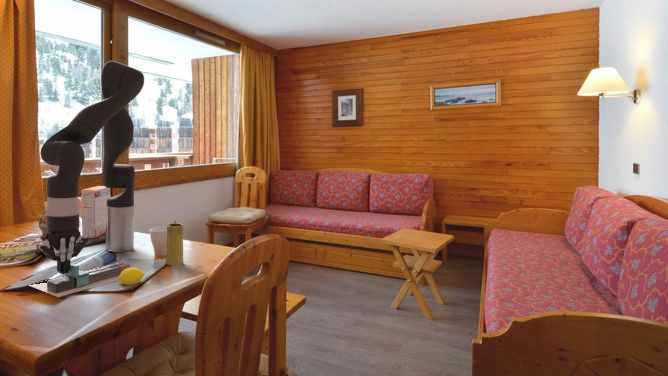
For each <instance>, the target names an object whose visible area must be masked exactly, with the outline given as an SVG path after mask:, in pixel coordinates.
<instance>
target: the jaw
mask: <svg viewBox="0 0 668 376" xmlns="http://www.w3.org/2000/svg"><path fill="white" fill-rule="evenodd" d="M122 264H126V263H125V262H123V261H120V262H115V263H113V265H111V264H108V265H109V266H107V265H104V266H105V267H103V266H100V267H101V268H99V267H96V268H97V269H95V268H92V269H93V270H91V269H89V271H87V270H84V271H85V272H87V273H92V272H96V271H100V270H104V269H108V268H112V267H116V266H118V265H122ZM71 278H73V279H75V278H74V277H71Z"/></svg>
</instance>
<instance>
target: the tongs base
mask: <svg viewBox="0 0 668 376" xmlns="http://www.w3.org/2000/svg"><path fill="white" fill-rule="evenodd" d="M130 265H131V264H130V263H125V264H122V265H118V266H116V267H112V268H108V269H104V270H100V271H96V272H92V273H89V283H92V282H95V281H99V280H102V279H106V278H110V277H113V276H117V275H120V274H121V273H122V271H124V270H125V269H127V268H131V266H130ZM63 276H64V277H63ZM63 276H59V277H60V278H59V277H55V278H56V279H55V278H52V280H51V279H47V280H48V281H47V280H46V281H47V290H48V291H51V292H53V293H56V294H57V293H60V292H64V291H67V290H71V289H75V285H77V278H75V279H73V278H71V276H66V275H63Z"/></svg>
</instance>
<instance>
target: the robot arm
mask: <svg viewBox="0 0 668 376" xmlns="http://www.w3.org/2000/svg"><path fill="white" fill-rule="evenodd" d="M100 78H101V79H100V80H101V83H100V84H101V89H102V90H101V93H102V99H103V100H100V101H97V102H94V103H91V104H89V105H88V106H87V105H86V106H85V107H84V108H82V109H81V110H80V111H79V112H78V113H77V114H76V115H75V116H74V117H73V119H72V120H70V122H69V123H68V125H66V126H65V127H63V128H62V129H60V130H59V131H57V132H56V133H54V134H53V135H51V136H50V137H49V138H48V139H47V140H45V142H44V143H43V144H42V146H41V148H40V158H41V160H42V161H43V162H44V163H46V164H47V165H51V166H55V167H58V170H57V172H56V174H55V175H51V176H49V177H48V179H47V185H46V187H47V201H46V207H47V210H46V213H47V232H48V233H47V236H46V240H45V241H42V243H38V244H36V249H37V248H38V249H39V250H40V251H41V252H42V253H44V254H43V255H45V256H46V257H47V258H48V259H49V260H52V261H55V262H56V271H57V272H58V273H59V274H61V275H66V273H69V271H70V269H71V267H70V263H71V261H72V259H73V258H76V257H78V256H79V254H80V253H81V252H82V250H83V249H84V248H85V246H86V244H87V243H88V241H89V238H86V237H83V236H82V235H81V233H82V232H80V200H79V180H80V177H81V175H82V171H83V168H84V163H85V151H84V148H83V147H82V145H86V144H89V143H91V142H92V141H93V140H94V139H95V137H96V136H97V135H98V134H99V132H100V131H101V130H102V129H103V162H102V171H101V172H102V175H101V176H102V177H101V179H102V184H103V186H105V187H107V188H110V189H124V191H123V192H120V193H119V194H117V195H114V196H110V198H108V199H107V225H106V234H105V249H106V250H107V249H108V250H112V251H114V252H113V253H125V252H129V251H132V250H134V245H135V244H134V243H135V242H134V241H135V239H134V238H135V236H134V235H135V181H136V179H135V178H136V173H135V171H136V170H135V167H134V165H133V164H128V163H127V164H124V163H116V162H117V160H118V159H119V158H120V156H122V155H123V154H124V153H125V152H126V151H127V150H128V149H129V148H130V147H131V145H132V144H133V140H134V130H135V127H134V122H133V119H132V117H131V115H130V114H129V112H128V111H127V109H126V106H128V105H129V103H131V102H132V101H134V99H136V98H137V97H138V95H140V93H141V92H142V89H143V87H144V85H145V76H144V74H143V72H142V71H141V70H138V69H136V68H134V67H131V66H129V65H126V64H124V63H123V62H118V61H116V60H109V61H106V63H104V65H103V68H102V70H101V77H100ZM75 243H76V244H75ZM49 244H50V245H51V246H52V247H53V248H54V252H55V254H54V253H53V252H52V251H51V250H50V249H49V248H50V245H49ZM74 244H75V245H74Z"/></svg>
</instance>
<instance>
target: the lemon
mask: <svg viewBox="0 0 668 376" xmlns="http://www.w3.org/2000/svg"><path fill="white" fill-rule="evenodd" d="M144 276H145V273H144V272H143V271H142V270H141V269H139V268H137V267H130V268H127V269H125V270H124V271H122V273H121V274H120V276H119V280H118V281H120V283H121V284H122V285H125V286H134V285H137V284H139V283H140V282H141V281H142V279H143V278H144Z"/></svg>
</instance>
